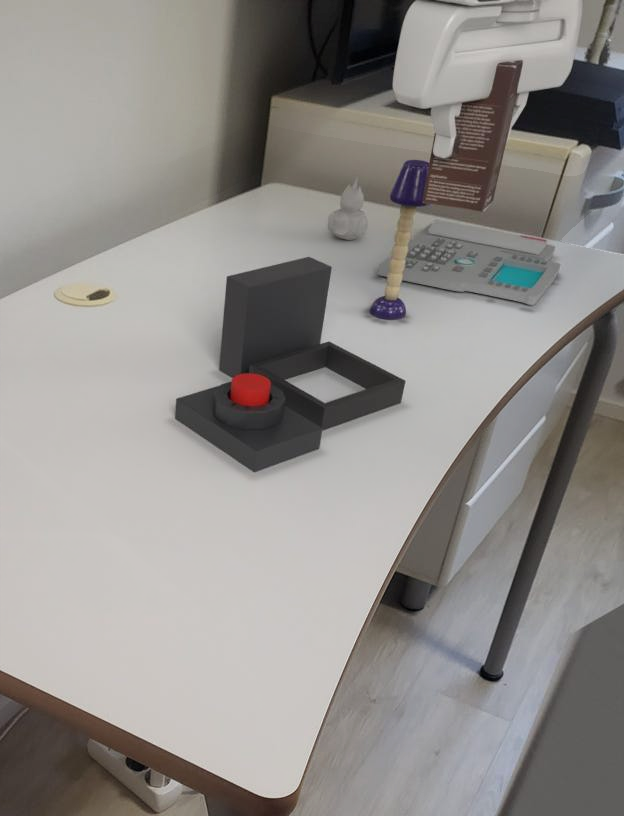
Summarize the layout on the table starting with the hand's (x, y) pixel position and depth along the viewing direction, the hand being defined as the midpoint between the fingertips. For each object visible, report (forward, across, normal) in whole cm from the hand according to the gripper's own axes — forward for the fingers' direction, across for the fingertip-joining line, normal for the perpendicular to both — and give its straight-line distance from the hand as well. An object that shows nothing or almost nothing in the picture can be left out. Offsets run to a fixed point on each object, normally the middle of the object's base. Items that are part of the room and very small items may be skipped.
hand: (469, 151), depth 89 cm
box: (+5, 0, 0) cm, 5 cm away
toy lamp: (+22, -10, -14) cm, 28 cm away
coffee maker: (+22, +12, -4) cm, 25 cm away
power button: (+18, +24, 0) cm, 30 cm away
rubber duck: (+22, -24, -36) cm, 48 cm away
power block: (+22, +24, 0) cm, 33 cm away
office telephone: (+22, -32, -19) cm, 43 cm away
